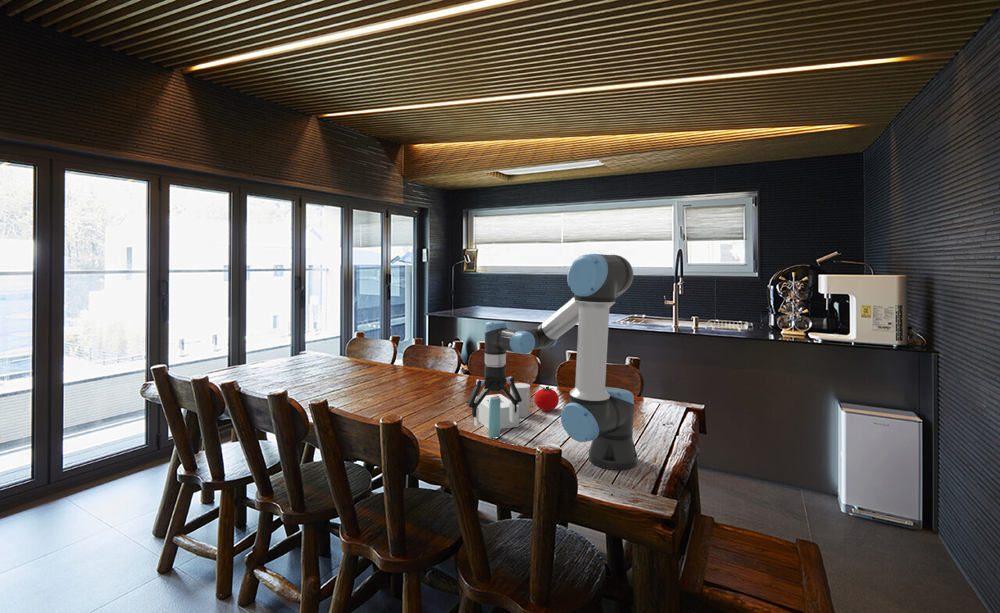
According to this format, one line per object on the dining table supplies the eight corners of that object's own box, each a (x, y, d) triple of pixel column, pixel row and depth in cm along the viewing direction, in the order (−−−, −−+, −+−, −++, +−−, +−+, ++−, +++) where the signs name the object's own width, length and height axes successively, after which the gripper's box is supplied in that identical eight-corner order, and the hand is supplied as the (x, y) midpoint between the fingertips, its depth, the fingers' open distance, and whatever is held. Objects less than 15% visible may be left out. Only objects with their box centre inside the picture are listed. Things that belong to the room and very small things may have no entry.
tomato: (531, 412, 205) (532, 388, 204) (537, 405, 214) (537, 383, 214) (556, 414, 201) (556, 391, 201) (560, 407, 211) (561, 385, 210)
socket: (518, 426, 186) (519, 405, 186) (489, 430, 182) (489, 409, 181) (500, 412, 203) (500, 394, 202) (473, 416, 198) (473, 396, 198)
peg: (501, 438, 174) (502, 397, 173) (491, 439, 172) (491, 398, 171) (497, 434, 178) (497, 394, 176) (486, 435, 176) (487, 395, 175)
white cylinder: (528, 417, 197) (528, 388, 196) (508, 416, 199) (508, 387, 198) (530, 411, 205) (531, 383, 204) (511, 410, 207) (512, 382, 206)
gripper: (522, 360, 181) (521, 416, 183) (458, 365, 171) (457, 424, 173) (531, 364, 174) (530, 422, 176) (465, 369, 164) (464, 431, 166)
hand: (494, 423), depth 175 cm, fingers open, 13 cm apart
